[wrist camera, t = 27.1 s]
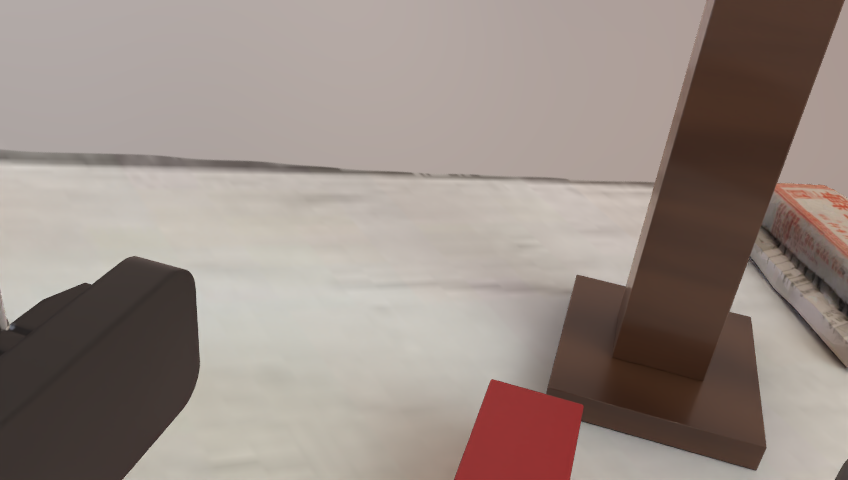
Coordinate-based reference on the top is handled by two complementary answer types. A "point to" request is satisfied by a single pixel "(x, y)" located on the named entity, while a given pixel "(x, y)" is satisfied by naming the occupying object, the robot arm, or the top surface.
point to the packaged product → (809, 257)
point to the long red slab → (521, 436)
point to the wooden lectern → (699, 243)
